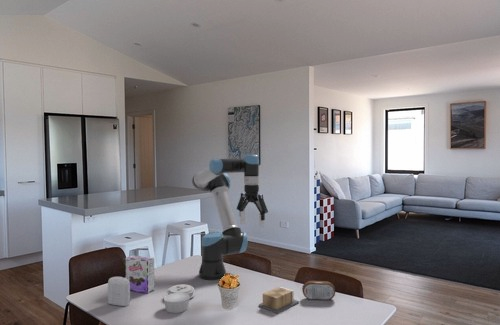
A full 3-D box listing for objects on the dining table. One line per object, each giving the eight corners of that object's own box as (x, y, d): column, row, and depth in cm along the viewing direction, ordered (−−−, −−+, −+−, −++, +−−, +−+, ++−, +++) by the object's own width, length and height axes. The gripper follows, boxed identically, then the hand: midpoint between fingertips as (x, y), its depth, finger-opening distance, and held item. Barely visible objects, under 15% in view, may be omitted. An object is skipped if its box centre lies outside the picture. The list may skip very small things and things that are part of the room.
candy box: (125, 290, 184) (124, 257, 184) (133, 286, 190) (132, 254, 190) (147, 293, 179) (147, 260, 179) (155, 289, 185) (154, 257, 184)
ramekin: (161, 306, 164) (161, 294, 164) (186, 302, 169) (186, 290, 169) (166, 316, 154) (166, 303, 154) (192, 311, 159) (192, 299, 158)
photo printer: (131, 303, 168) (131, 276, 167) (125, 307, 164) (125, 279, 163) (112, 301, 171) (112, 274, 171) (106, 304, 167) (106, 277, 166)
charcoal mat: (258, 306, 163) (258, 304, 163) (280, 296, 174) (280, 295, 174) (277, 313, 155) (277, 311, 155) (299, 303, 166) (299, 301, 166)
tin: (334, 298, 171) (334, 280, 171) (335, 301, 168) (335, 283, 168) (302, 297, 173) (302, 279, 172) (302, 300, 169) (302, 282, 169)
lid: (199, 296, 176) (199, 286, 175) (178, 305, 166) (178, 294, 166) (183, 290, 184) (183, 280, 184) (162, 298, 174) (161, 287, 174)
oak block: (276, 309, 157) (293, 301, 166) (276, 298, 157) (293, 290, 166) (262, 304, 163) (279, 297, 171) (262, 293, 163) (279, 286, 171)
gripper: (229, 183, 197) (230, 223, 198) (264, 186, 180) (265, 229, 180) (239, 182, 203) (240, 221, 203) (274, 185, 185) (274, 226, 186)
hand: (251, 225), depth 192 cm, fingers open, 13 cm apart
